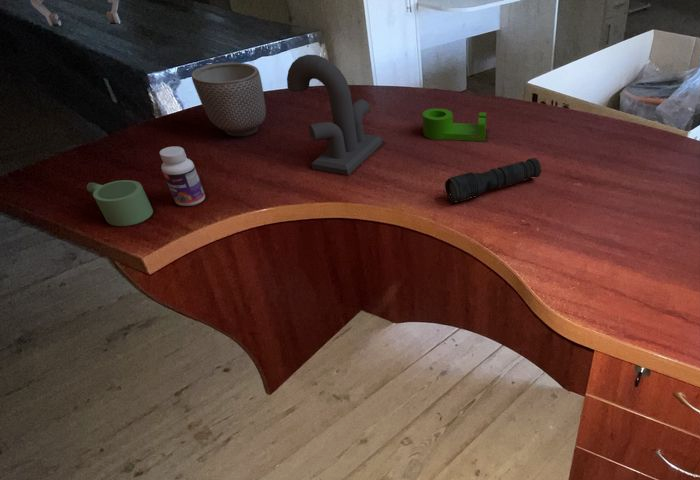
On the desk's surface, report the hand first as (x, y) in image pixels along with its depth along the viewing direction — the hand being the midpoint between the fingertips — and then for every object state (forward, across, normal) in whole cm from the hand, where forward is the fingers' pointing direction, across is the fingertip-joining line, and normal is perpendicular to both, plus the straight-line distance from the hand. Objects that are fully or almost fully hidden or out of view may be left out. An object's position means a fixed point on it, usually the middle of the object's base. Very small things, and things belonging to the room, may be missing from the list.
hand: (86, 24), depth 98 cm
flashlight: (+25, +68, -34) cm, 80 cm away
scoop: (+25, -2, -23) cm, 34 cm away
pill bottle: (+25, +10, -22) cm, 35 cm away
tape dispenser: (+25, +68, -5) cm, 73 cm away
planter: (+25, +20, +9) cm, 33 cm away
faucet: (+25, +39, -8) cm, 47 cm away
